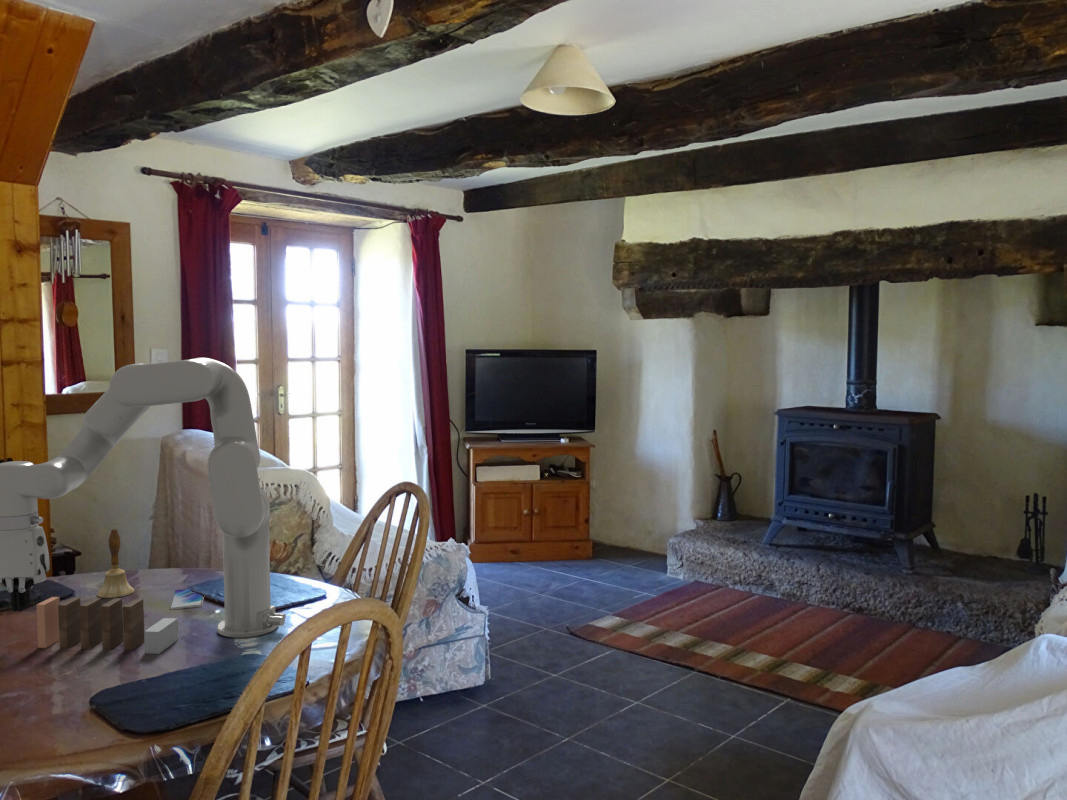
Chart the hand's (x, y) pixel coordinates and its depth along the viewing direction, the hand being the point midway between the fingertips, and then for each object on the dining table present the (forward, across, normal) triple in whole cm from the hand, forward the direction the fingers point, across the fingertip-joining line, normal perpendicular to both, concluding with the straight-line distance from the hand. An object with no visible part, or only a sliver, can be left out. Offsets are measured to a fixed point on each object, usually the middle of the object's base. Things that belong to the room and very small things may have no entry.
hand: (21, 609), depth 176 cm
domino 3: (+7, -15, 0) cm, 17 cm away
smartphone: (+8, -21, -31) cm, 38 cm away
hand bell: (+7, -1, -34) cm, 34 cm away
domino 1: (+7, -6, 0) cm, 9 cm away
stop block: (+7, -30, 0) cm, 31 cm away
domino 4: (+7, -19, 0) cm, 21 cm away
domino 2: (+7, -10, 0) cm, 13 cm away
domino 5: (+7, -24, 0) cm, 25 cm away
